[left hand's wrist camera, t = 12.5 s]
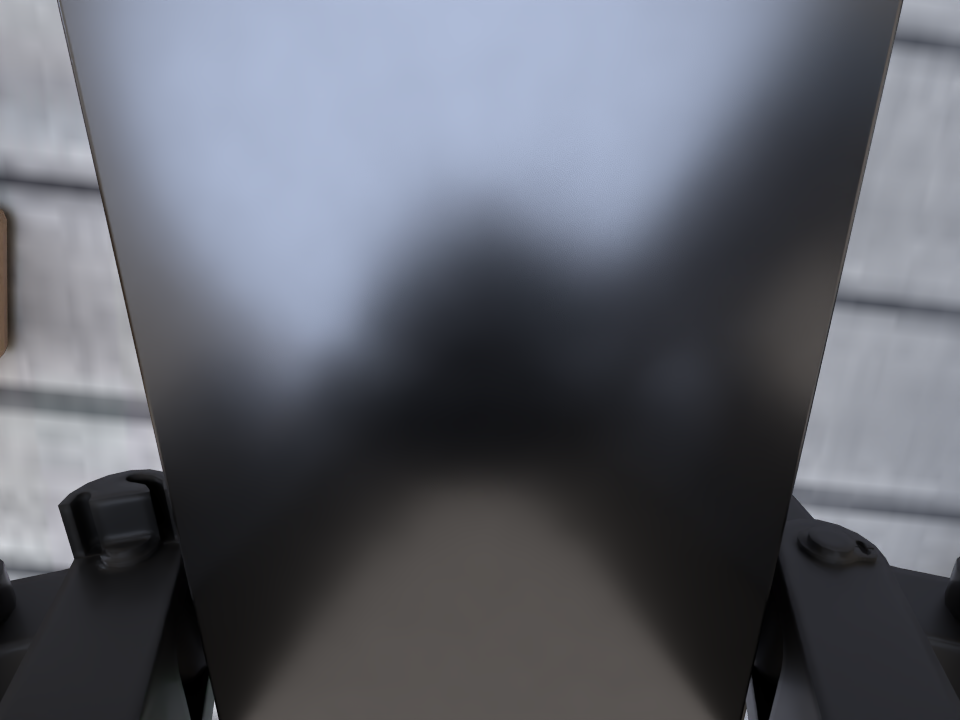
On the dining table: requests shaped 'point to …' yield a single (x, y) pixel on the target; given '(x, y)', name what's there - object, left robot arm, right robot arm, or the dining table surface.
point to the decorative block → (3, 283)
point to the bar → (480, 331)
